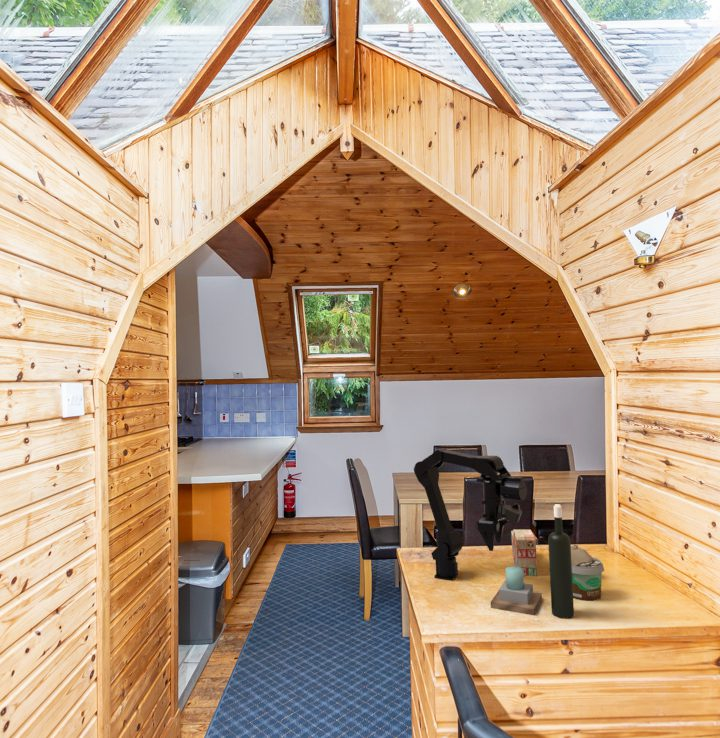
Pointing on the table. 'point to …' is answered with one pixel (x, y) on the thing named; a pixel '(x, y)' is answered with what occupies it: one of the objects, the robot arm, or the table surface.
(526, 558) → the stack of blocks
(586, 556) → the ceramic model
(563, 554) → the wine bottle
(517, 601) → the grey square block
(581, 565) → the food container
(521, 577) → the teal round block
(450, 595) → the table surface
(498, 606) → the tower base slab
